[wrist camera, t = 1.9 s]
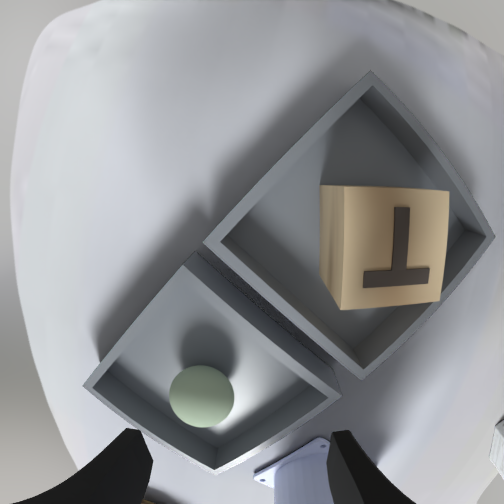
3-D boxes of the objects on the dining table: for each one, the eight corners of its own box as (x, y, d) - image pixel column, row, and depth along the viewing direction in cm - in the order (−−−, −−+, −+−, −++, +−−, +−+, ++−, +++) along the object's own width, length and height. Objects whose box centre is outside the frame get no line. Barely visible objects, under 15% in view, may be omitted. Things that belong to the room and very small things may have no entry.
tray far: (332, 369, 19) (342, 396, 16) (219, 449, 21) (215, 475, 18) (195, 250, 17) (182, 264, 15) (99, 363, 20) (82, 385, 17)
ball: (249, 378, 19) (246, 419, 15) (211, 408, 19) (202, 448, 15) (201, 342, 18) (188, 379, 14) (166, 375, 19) (149, 413, 15)
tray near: (468, 228, 17) (495, 236, 14) (349, 355, 19) (361, 380, 16) (353, 86, 15) (370, 70, 12) (212, 232, 17) (202, 242, 14)
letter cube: (401, 187, 16) (450, 191, 11) (398, 270, 17) (440, 301, 12) (319, 185, 16) (344, 186, 11) (319, 274, 17) (340, 311, 12)
